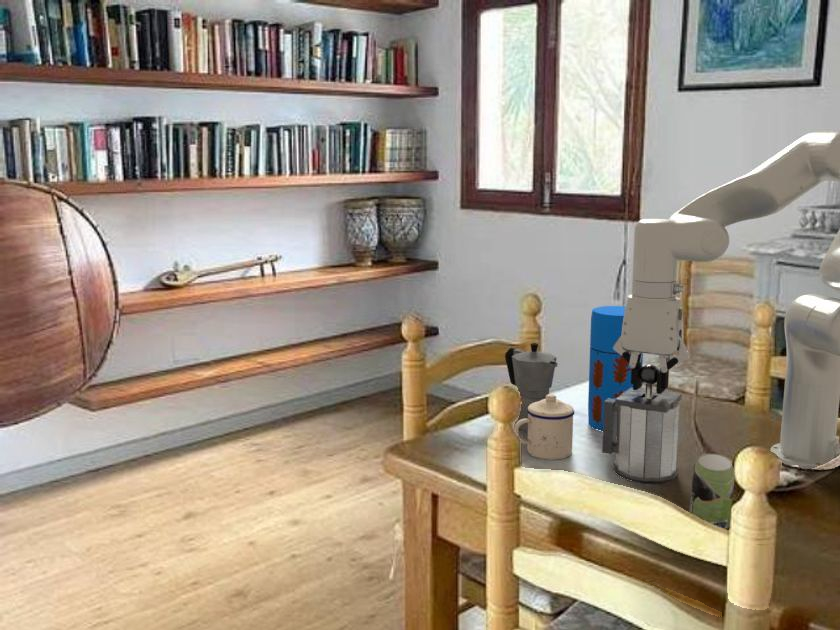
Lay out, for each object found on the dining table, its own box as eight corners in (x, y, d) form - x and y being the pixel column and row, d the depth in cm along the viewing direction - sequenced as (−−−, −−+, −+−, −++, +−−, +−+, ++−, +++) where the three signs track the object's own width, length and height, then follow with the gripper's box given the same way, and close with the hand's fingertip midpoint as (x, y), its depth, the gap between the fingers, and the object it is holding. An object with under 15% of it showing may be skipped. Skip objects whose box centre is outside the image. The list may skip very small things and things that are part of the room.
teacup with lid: (561, 442, 171) (562, 386, 168) (581, 458, 162) (583, 399, 160) (505, 448, 168) (506, 391, 165) (522, 464, 159) (523, 405, 157)
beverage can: (720, 519, 135) (725, 448, 133) (738, 540, 128) (744, 465, 126) (681, 519, 135) (685, 449, 133) (697, 541, 128) (702, 466, 126)
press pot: (684, 467, 157) (688, 393, 154) (666, 488, 148) (670, 409, 145) (614, 454, 164) (617, 382, 161) (593, 473, 155) (595, 397, 152)
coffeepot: (570, 428, 179) (572, 345, 175) (538, 437, 174) (540, 352, 170) (520, 410, 191) (522, 332, 188) (489, 418, 186) (490, 338, 182)
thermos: (644, 433, 175) (650, 315, 170) (592, 433, 175) (596, 316, 170) (632, 417, 186) (637, 305, 181) (583, 417, 186) (587, 305, 181)
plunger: (671, 455, 156) (676, 363, 152) (659, 468, 150) (664, 372, 146) (633, 448, 159) (637, 357, 156) (620, 460, 153) (623, 366, 150)
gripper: (707, 290, 147) (701, 391, 151) (615, 283, 156) (611, 378, 159) (696, 297, 141) (689, 402, 144) (601, 289, 150) (597, 388, 153)
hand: (649, 389), depth 152 cm, fingers closed on plunger, 3 cm apart
